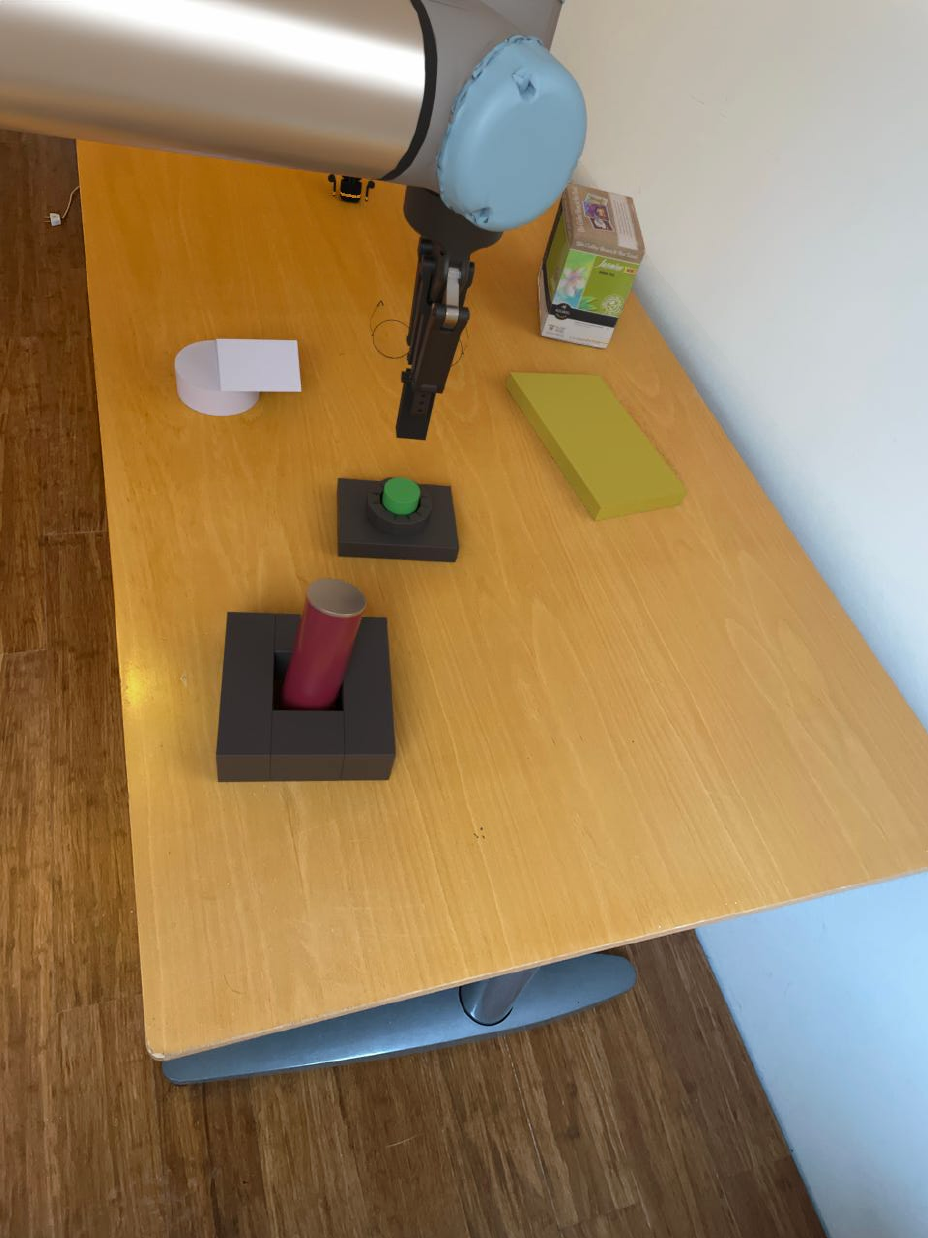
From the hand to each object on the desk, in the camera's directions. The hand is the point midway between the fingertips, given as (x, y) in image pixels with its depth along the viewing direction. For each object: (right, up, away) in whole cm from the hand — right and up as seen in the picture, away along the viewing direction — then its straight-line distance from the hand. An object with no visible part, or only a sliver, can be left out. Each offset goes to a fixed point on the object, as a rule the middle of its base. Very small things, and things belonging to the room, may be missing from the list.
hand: (410, 433), depth 75 cm
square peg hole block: (-9, -25, -5) cm, 27 cm away
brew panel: (-2, -8, +10) cm, 13 cm away
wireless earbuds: (-13, +47, +50) cm, 69 cm away
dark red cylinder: (-9, -25, -6) cm, 27 cm away
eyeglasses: (-1, +19, +31) cm, 37 cm away
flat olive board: (+20, +4, +25) cm, 33 cm away
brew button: (-2, -5, +7) cm, 9 cm away
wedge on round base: (-21, +9, +18) cm, 29 cm away
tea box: (+20, +27, +42) cm, 54 cm away
